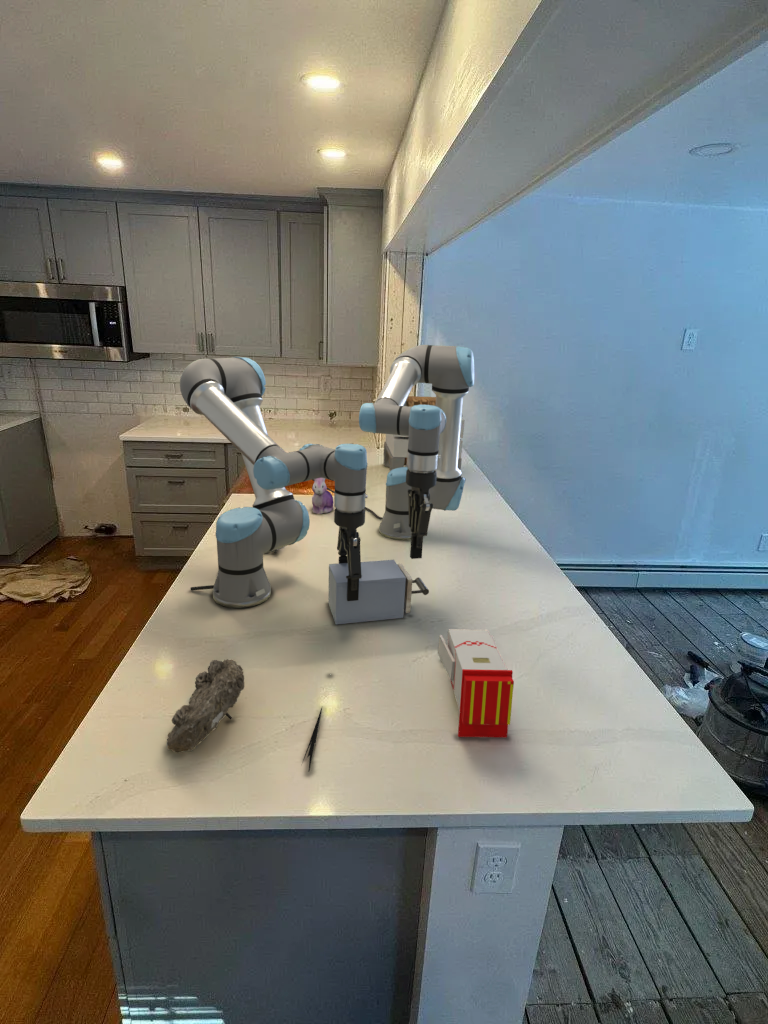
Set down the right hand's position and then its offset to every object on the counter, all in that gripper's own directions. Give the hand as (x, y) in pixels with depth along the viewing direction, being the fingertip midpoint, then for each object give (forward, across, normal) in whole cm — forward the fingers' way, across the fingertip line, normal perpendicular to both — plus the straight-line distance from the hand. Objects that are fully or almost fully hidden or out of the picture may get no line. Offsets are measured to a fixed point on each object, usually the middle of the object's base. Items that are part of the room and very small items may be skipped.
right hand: (415, 557), depth 147 cm
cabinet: (+14, 0, +13) cm, 19 cm away
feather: (+14, -39, +31) cm, 52 cm away
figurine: (+14, +78, +12) cm, 80 cm away
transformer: (+14, +124, -43) cm, 132 cm away
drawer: (+13, 0, +8) cm, 15 cm away
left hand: (+8, 0, +18) cm, 19 cm away
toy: (+14, -37, -1) cm, 40 cm away
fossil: (+14, -34, +51) cm, 63 cm away
